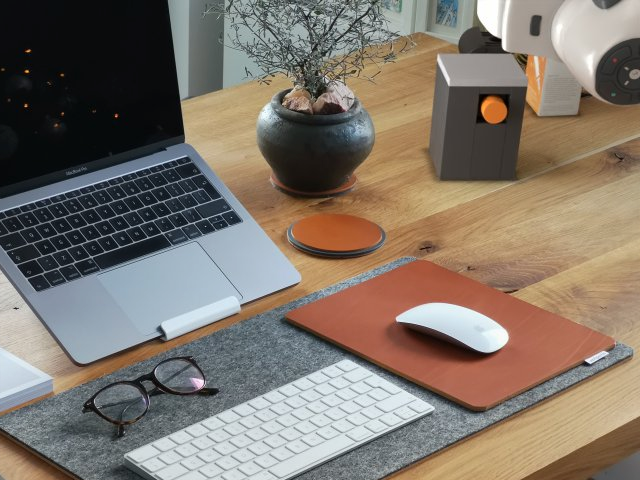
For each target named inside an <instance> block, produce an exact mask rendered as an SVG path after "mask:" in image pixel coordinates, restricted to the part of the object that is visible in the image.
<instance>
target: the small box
mask: <svg viewBox="0 0 640 480" xmlns="http://www.w3.org/2000/svg"><path fill="white" fill-rule="evenodd" d="M525 75H526V76H527V78H528V79H529V80H528V86H527V94H526V101H525V102H526V103H527V104H528V106H530V107H531V109H532V110H533V111H534V112H535V113H536V115H537V116H538V117H554V116H555V117H556V116H577V115H578V114H579V108H580V102H581V96H582V88H583V86H582V85H581V84H580V83H579V82H578V81H577V80H576V79H575V77H574V76H573V75H572V73H571V72H570V70H569V69H568V67H567V65H566V64H565V63H560V62H556V61H553V60H550V59H547V58H544V57H539V56H532V55H527V61H526V67H525Z"/></svg>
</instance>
